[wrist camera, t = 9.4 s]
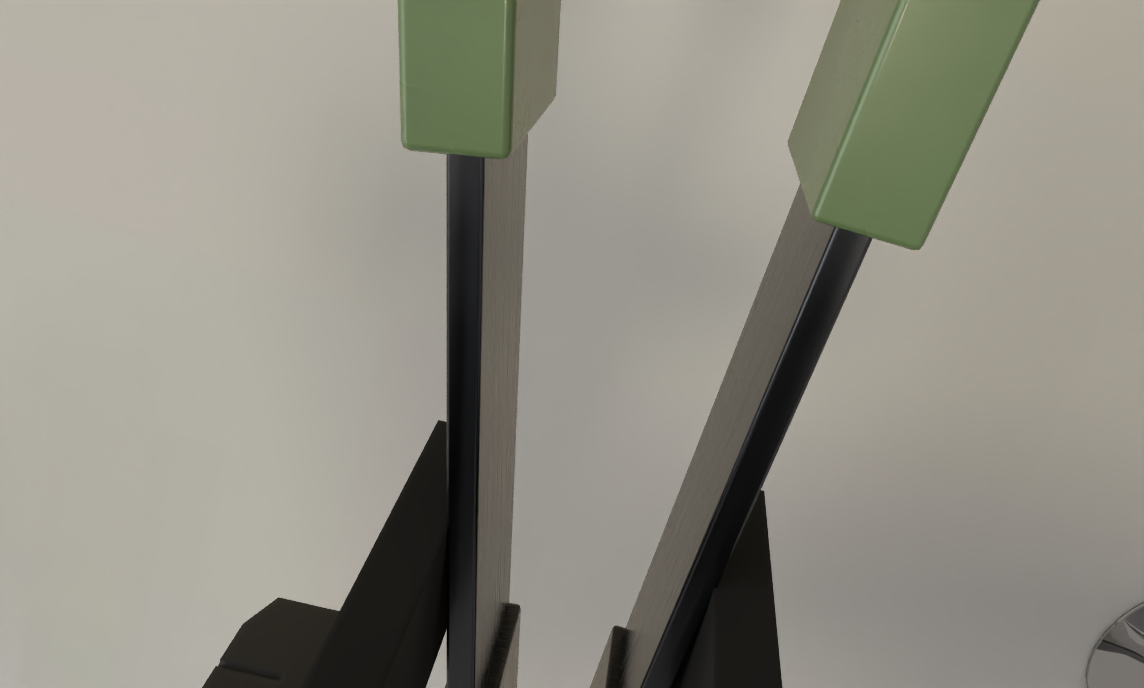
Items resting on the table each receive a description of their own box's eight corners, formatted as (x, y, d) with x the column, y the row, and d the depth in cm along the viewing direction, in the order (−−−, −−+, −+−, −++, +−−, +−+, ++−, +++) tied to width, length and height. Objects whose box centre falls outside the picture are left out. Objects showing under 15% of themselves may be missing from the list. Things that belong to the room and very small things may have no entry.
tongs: (645, 922, 18) (636, 1096, 16) (375, 857, 19) (319, 1018, 16) (993, -121, 10) (1103, -128, 7) (475, -211, 10) (390, -253, 7)
